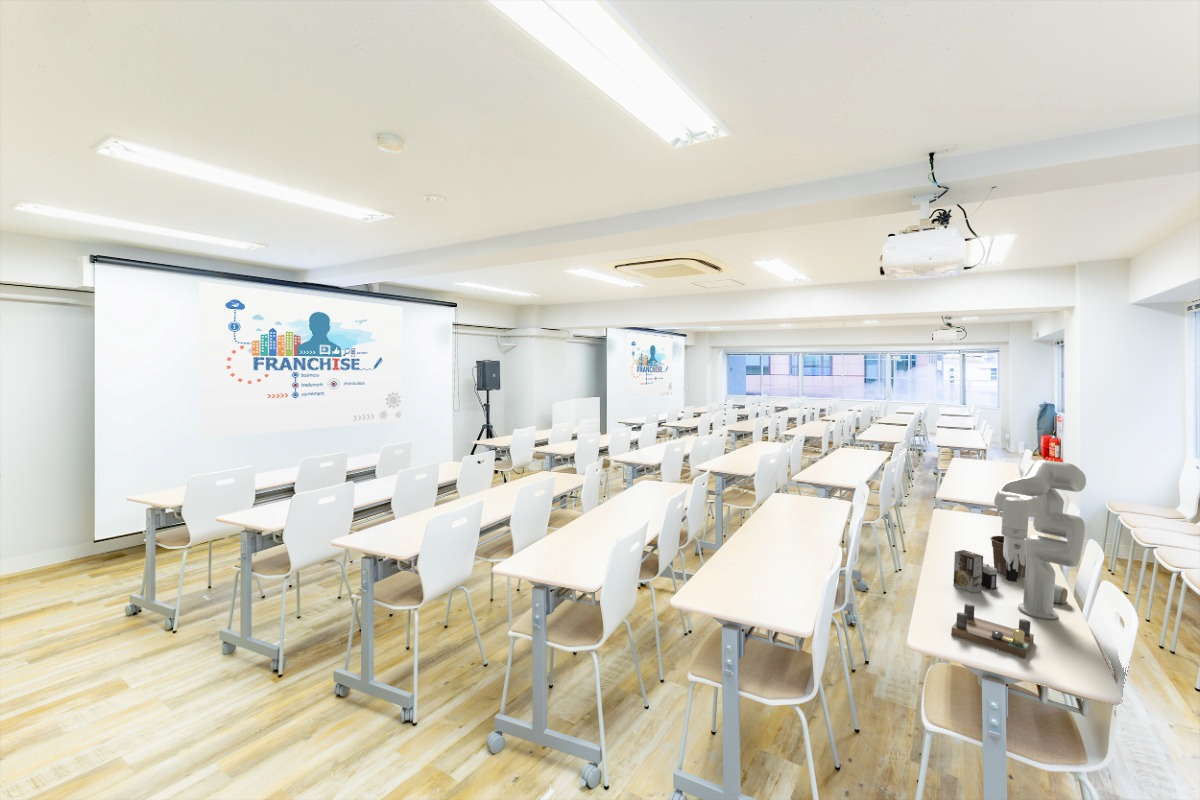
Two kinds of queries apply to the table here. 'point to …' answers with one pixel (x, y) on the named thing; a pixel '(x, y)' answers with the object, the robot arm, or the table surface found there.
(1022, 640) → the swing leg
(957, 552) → the coffee box
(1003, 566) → the plant pot
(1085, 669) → the table surface
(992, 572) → the camera
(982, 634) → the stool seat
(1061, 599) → the ceramic mug
